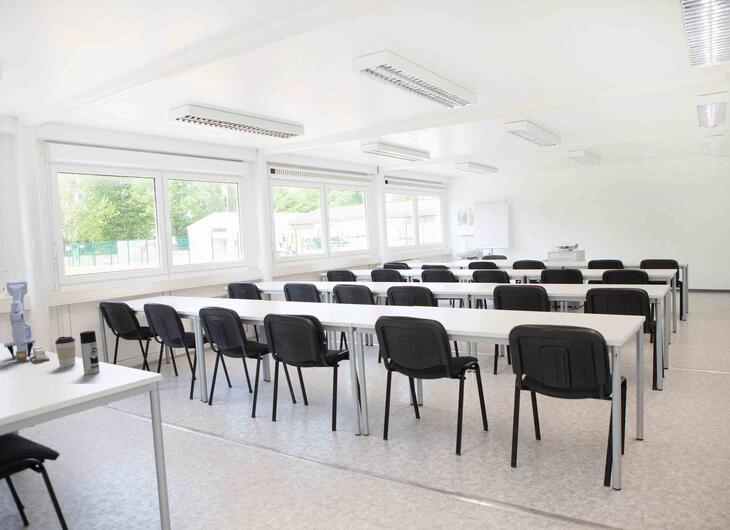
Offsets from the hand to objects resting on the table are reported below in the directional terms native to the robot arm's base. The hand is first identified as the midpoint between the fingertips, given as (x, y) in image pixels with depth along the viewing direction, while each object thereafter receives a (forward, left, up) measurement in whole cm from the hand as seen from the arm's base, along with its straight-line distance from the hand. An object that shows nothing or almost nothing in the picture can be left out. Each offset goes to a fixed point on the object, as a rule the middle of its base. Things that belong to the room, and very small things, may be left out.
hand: (21, 357), depth 298 cm
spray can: (+70, +23, -2) cm, 74 cm away
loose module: (0, 0, -2) cm, 2 cm away
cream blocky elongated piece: (+6, +8, -2) cm, 10 cm away
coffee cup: (+40, +17, -2) cm, 43 cm away
